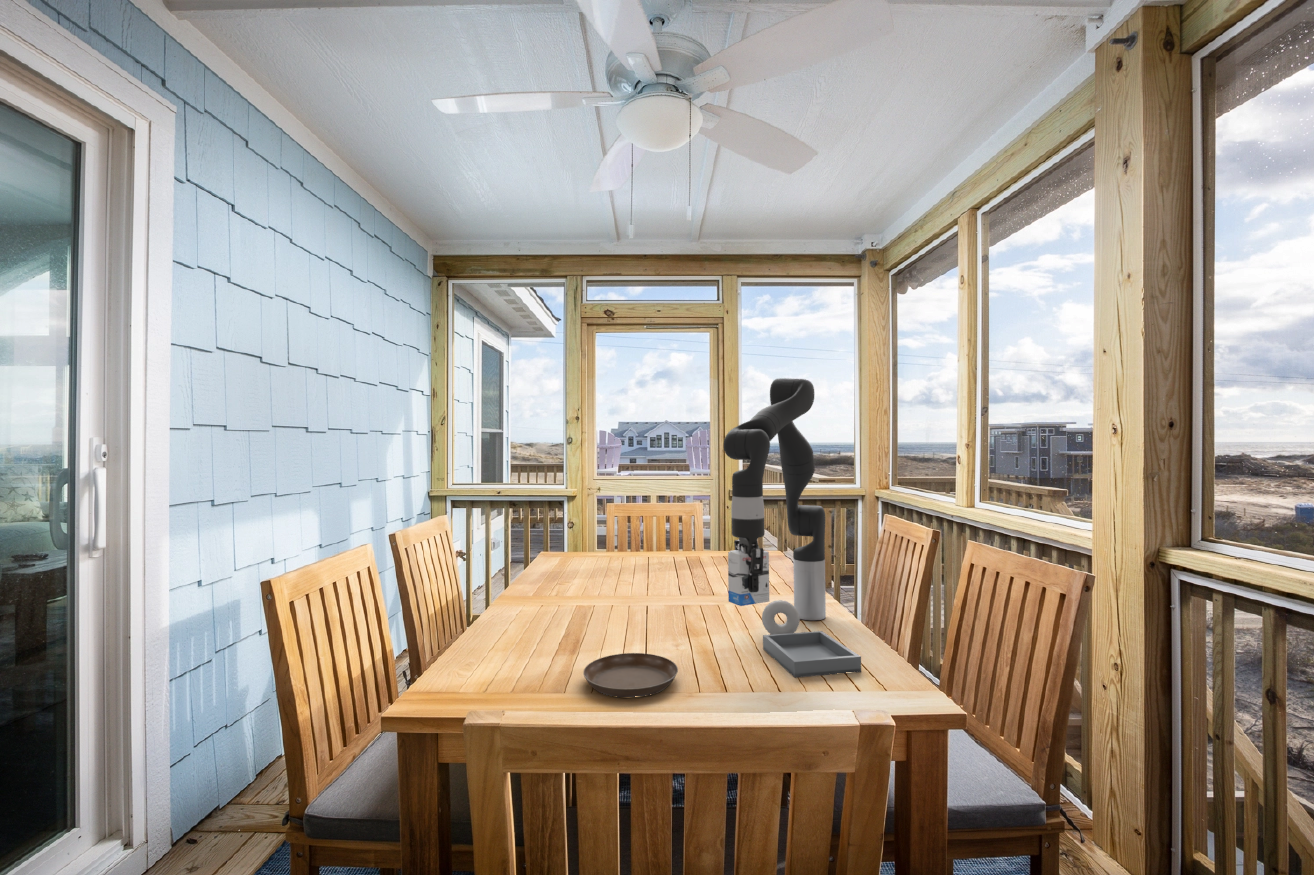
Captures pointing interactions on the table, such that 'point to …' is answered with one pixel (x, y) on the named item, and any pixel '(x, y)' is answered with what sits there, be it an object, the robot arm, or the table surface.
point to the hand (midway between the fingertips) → (748, 588)
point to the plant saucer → (630, 674)
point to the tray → (811, 654)
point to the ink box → (746, 580)
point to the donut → (786, 609)
